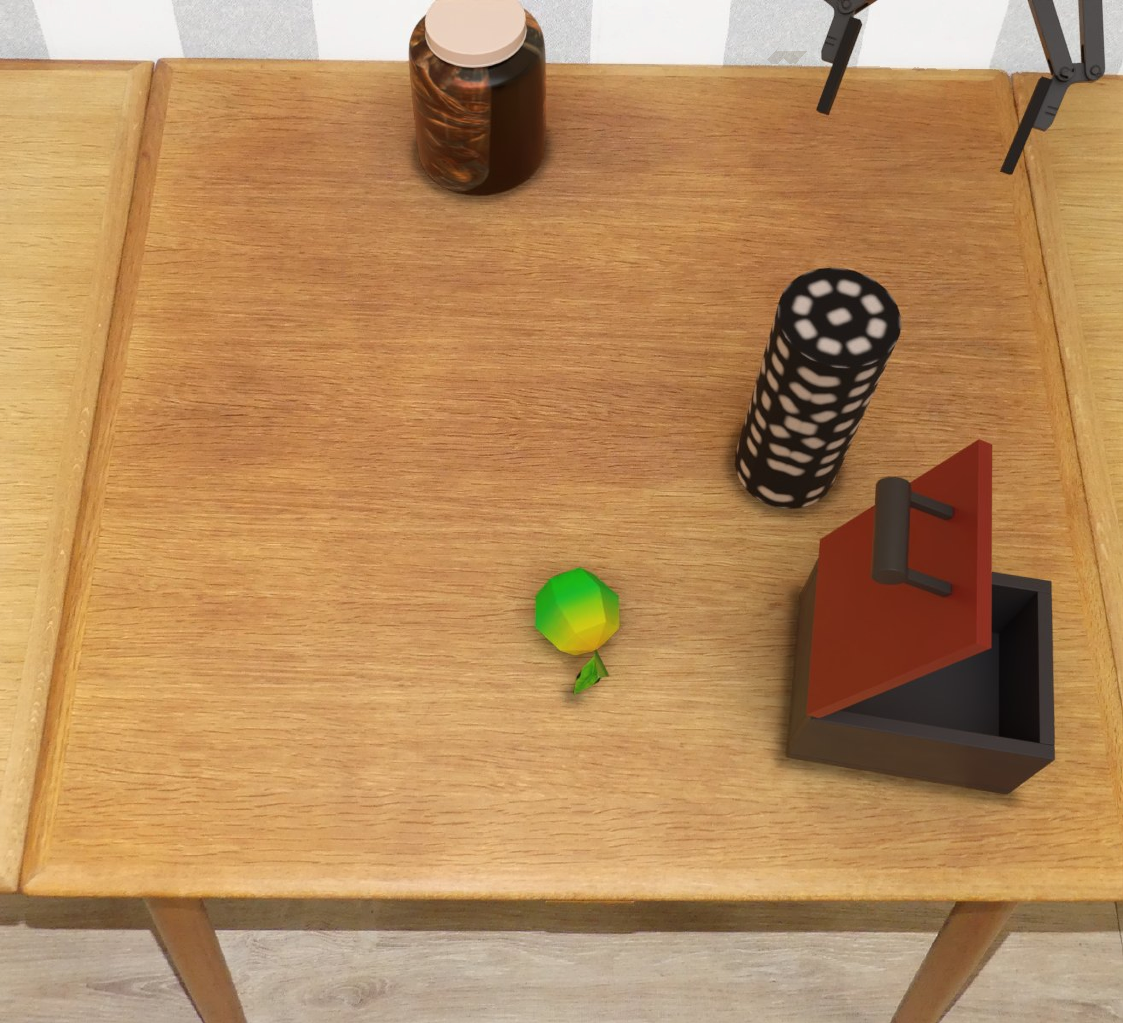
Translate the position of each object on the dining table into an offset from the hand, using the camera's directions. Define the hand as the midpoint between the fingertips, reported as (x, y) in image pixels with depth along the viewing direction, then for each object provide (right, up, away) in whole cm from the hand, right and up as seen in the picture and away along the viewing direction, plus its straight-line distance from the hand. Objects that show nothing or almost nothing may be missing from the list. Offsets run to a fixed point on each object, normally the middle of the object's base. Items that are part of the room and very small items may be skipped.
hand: (912, 143), depth 87 cm
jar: (-33, +8, +28) cm, 43 cm away
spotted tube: (-7, -22, +13) cm, 27 cm away
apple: (-24, -36, +5) cm, 43 cm away
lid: (-4, -31, -11) cm, 33 cm away
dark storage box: (0, -40, +4) cm, 40 cm away
